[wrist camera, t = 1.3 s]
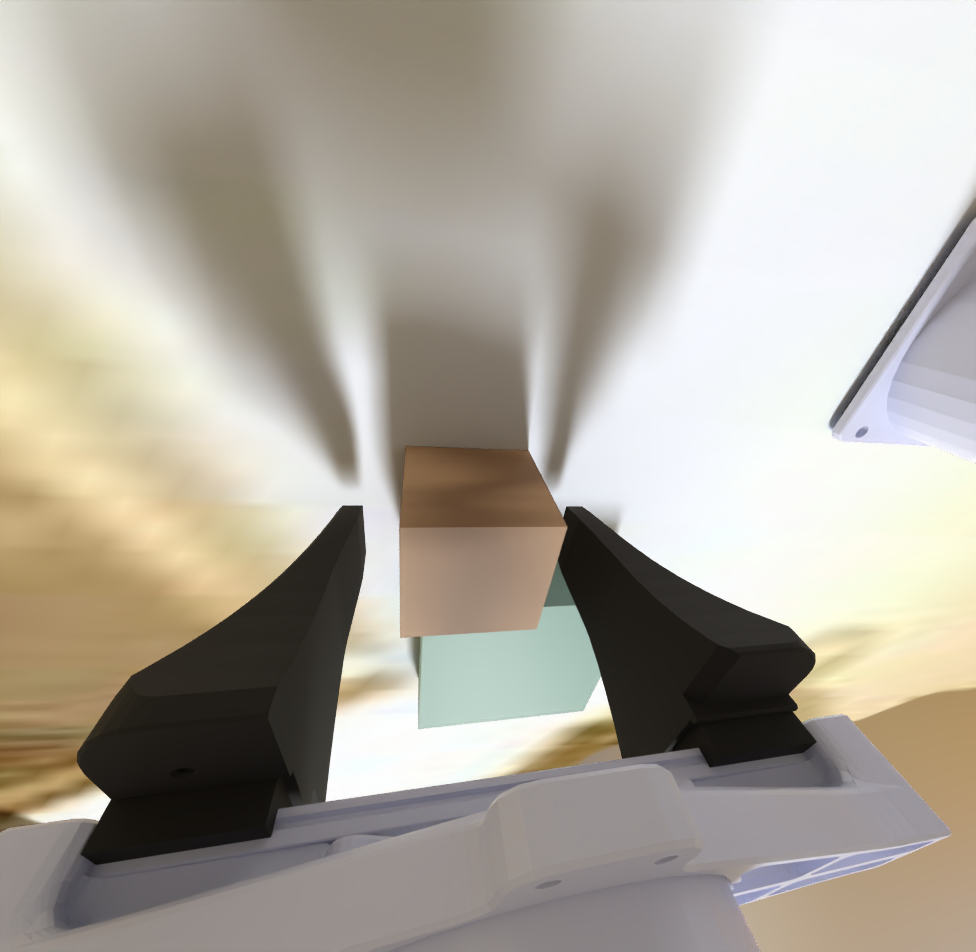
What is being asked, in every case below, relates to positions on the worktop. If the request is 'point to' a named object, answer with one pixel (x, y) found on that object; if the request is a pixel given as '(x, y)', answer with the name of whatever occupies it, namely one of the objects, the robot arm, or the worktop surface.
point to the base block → (509, 669)
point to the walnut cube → (475, 541)
